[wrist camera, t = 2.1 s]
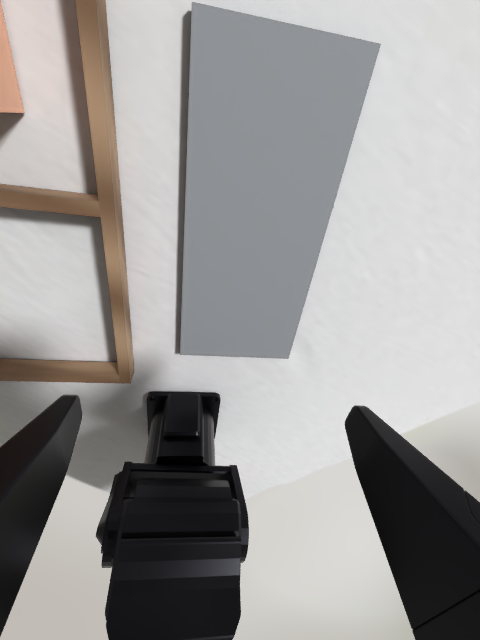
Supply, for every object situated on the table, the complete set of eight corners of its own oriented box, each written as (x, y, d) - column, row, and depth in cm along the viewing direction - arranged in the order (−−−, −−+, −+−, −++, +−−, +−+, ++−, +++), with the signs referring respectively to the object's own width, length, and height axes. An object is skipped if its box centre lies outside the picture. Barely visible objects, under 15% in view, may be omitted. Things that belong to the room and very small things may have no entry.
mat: (287, 355, 26) (288, 358, 25) (180, 351, 24) (179, 354, 24) (376, 45, 15) (380, 43, 14) (192, 4, 13) (191, 1, 13)
